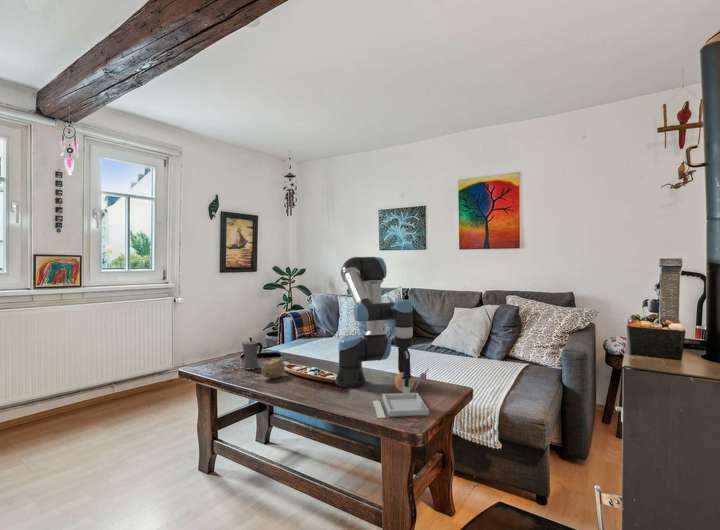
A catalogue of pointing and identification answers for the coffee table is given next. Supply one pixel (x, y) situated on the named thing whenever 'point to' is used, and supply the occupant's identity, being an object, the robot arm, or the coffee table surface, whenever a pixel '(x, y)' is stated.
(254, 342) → the coffeepot
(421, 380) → the lily
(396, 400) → the tray
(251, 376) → the coffee table surface
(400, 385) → the ball
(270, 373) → the low-poly potato
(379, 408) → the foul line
